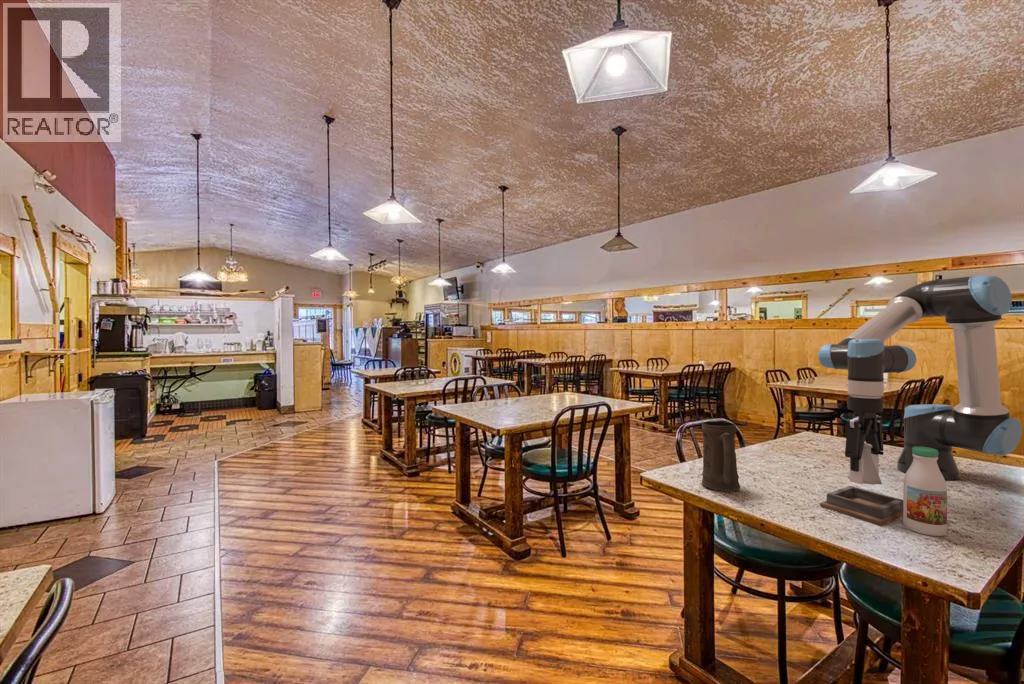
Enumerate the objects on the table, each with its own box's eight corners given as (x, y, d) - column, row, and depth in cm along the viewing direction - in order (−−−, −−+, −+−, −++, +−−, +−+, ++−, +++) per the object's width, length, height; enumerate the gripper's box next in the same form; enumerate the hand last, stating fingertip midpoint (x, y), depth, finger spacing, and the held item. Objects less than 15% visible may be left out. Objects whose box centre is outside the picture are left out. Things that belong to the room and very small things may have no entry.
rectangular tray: (850, 495, 128) (850, 483, 128) (911, 513, 115) (911, 499, 115) (819, 506, 120) (819, 494, 120) (881, 526, 108) (881, 512, 108)
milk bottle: (894, 523, 109) (895, 444, 109) (922, 522, 110) (923, 443, 109) (926, 538, 101) (927, 453, 101) (956, 536, 102) (957, 452, 102)
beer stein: (695, 480, 143) (695, 419, 142) (728, 480, 142) (728, 419, 142) (716, 498, 127) (715, 430, 127) (753, 498, 127) (753, 430, 126)
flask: (888, 486, 113) (888, 448, 113) (856, 484, 115) (857, 447, 114) (871, 477, 120) (871, 441, 120) (841, 475, 122) (842, 440, 122)
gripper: (867, 391, 125) (867, 470, 126) (828, 397, 116) (828, 482, 116) (900, 395, 118) (899, 478, 119) (861, 401, 109) (861, 491, 109)
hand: (864, 480), depth 117 cm, fingers closed on flask, 8 cm apart
